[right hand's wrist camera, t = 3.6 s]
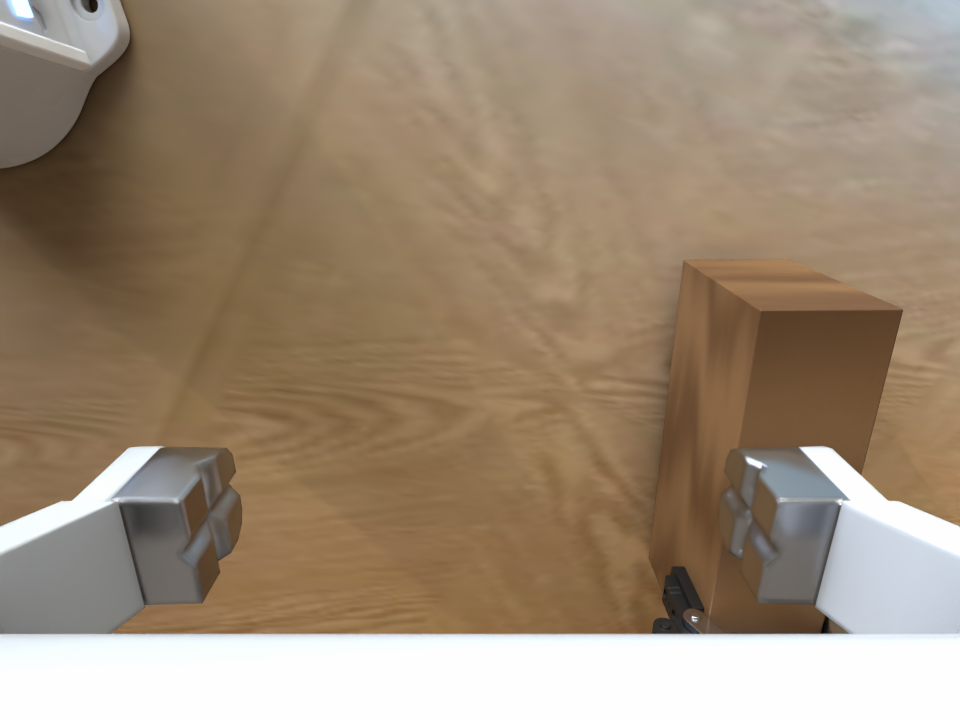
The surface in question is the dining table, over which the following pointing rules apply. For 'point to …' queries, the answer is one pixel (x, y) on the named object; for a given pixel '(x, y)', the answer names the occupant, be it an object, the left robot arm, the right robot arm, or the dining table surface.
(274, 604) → the dining table surface
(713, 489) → the box
